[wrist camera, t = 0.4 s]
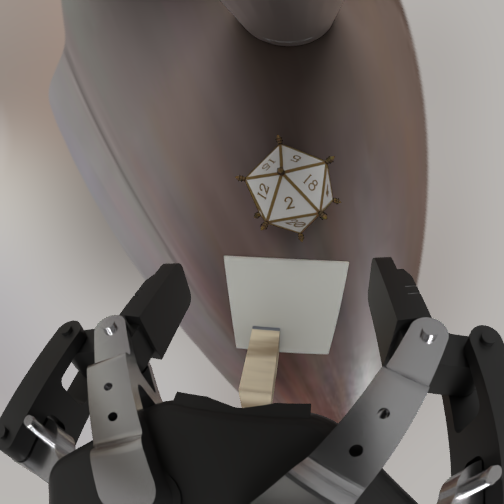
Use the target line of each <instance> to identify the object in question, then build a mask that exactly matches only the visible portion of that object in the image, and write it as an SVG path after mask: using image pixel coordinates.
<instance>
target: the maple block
mask: <svg viewBox="0 0 504 504" xmlns="http://www.w3.org/2000/svg"><path fill="white" fill-rule="evenodd" d="M279 344H280V328H273V327H260V326H253V328H252V332H251V337H250V341H249V346H248V350H247V355H246V359H245V364H244V368H243V372H242V377H241V381H240V386H239V390H238V391H239V396H240V400H241V405H242V408H246V407H254V406H261V405H267V404H272V401H273V394H274V387H275V380H276V373H277V365H278V357H279Z"/></svg>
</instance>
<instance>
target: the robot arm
mask: <svg viewBox="0 0 504 504" xmlns="http://www.w3.org/2000/svg"><path fill="white" fill-rule="evenodd" d="M220 1H221V2H222V3H223V4H224V5H225V6H226V8H227V9H228V10H229V11H230V12H231V13H232V14H233V15H234V16H235V17H236V19H237V20H238V21H239V22H240V23H241V24H242V25H243V26H244V28H245V29H246V30H247V31H248V32H249V33H250V34H252V35H253V36H255V37H256V38H258V39H260V40H262V41H265V42H267V43H270V44H274V45H279V46H298V45H303V44H307V43H310V42H312V41H314V40H316V39H318V38H320V37H321V36H322V35H324V34H325V33H326V32H327V31H328V29H329V28H330V27H331V25H332V23H333V21H334V19H335V17H336V15H337V14H338V12H339V10H340V8H341V5H342V3H343V1H344V0H220ZM368 301H369V307H370V311H371V315H372V319H373V324H374V328H375V332H376V337H377V342H378V347H379V352H380V357H381V362H382V368H381V369H380V370H379V372H378V373H377V374H376V376H375V377H374V379H373V380H372V381H371V383H370V384H369V386H368V387H367V388H366V390H365V391H364V392H363V394H362V395H361V396H360V398H359V399H358V400H357V402H356V403H355V404H354V405H353V407H352V408H351V409H350V410H349V412H348V413H347V414H346V415H345V417H344V418H343V419H342V420H341V421H340V422H339V424H338V423H336V422H335V421H333V420H331V419H329V418H327V417H324V416H321V415H318V414H314V413H310V411H311V404H285V403H273V404H267V405H261V406H254V407H246V408H235V407H232V406H229V405H227V404H224V403H221V402H219V401H216V400H213V399H211V398H208V397H205V396H198V395H192V394H186V393H181V392H177V393H176V396H175V398H174V400H173V401H165V402H162V399H161V397H160V394H159V391H158V388H157V384H156V381H155V378H154V374H153V371H152V367H151V365H150V363H149V360H150V358H156V359H162V358H163V356H164V354H165V352H166V350H167V348H168V346H169V344H170V342H171V340H172V338H173V336H174V334H175V332H176V330H177V328H178V327H179V325H180V323H181V321H182V319H183V317H184V315H185V313H186V311H187V309H188V307H189V305H190V302H191V294H190V290H189V287H188V283H187V280H186V277H185V274H184V271H183V267H182V266H181V264H179V263H176V264H163V265H162V266H161V267H160V268H159V270H158V271H157V272H156V273H155V275H153V276H151V277H150V278H149V279H147V280H146V281H145V282H144V283H143V284H142V286H141V287H140V288H139V290H138V291H137V292H136V293H135V296H133V297H132V299H131V300H130V301H129V303H128V304H127V305H126V307H125V308H124V309H123V311H122V312H121V313H120V315H112V316H109V317H106V318H104V319H103V320H102V321H100V322H99V323H98V324H97V326H96V327H95V329H91V330H83V328H82V326H81V325H80V323H79V322H78V321H70V322H67V323H65V324H64V325H62V326H61V327H60V328H59V329H58V330H57V332H56V333H55V334H54V336H53V337H52V338H51V340H50V341H49V342H48V344H47V345H46V346H45V348H44V349H43V351H42V352H41V353H40V355H39V356H38V358H37V359H36V361H35V362H34V364H33V365H32V367H31V368H30V370H29V371H28V373H27V374H26V376H25V377H24V379H23V380H22V382H21V384H20V385H19V387H18V388H17V390H16V391H15V393H14V395H13V397H12V398H11V400H10V401H9V403H8V405H7V407H6V409H5V410H4V412H3V414H2V416H1V417H0V450H1V451H2V452H4V453H5V454H7V455H8V456H9V457H11V458H12V459H13V460H14V461H15V462H17V463H18V464H20V465H22V466H23V467H24V468H26V469H28V470H29V471H31V472H33V473H34V474H36V475H38V476H39V477H40V478H42V479H43V480H44V481H46V482H47V483H48V484H49V504H418V503H417V502H416V501H415V500H414V499H413V498H411V496H410V495H409V494H407V493H406V492H405V491H404V490H403V489H402V488H401V487H400V486H399V485H398V484H397V483H396V482H395V481H394V480H393V479H392V478H391V477H390V476H389V475H388V474H387V473H386V472H385V471H384V470H383V468H382V467H383V466H384V465H385V463H386V462H387V460H388V459H389V457H390V456H391V455H392V453H393V452H394V450H395V449H396V447H397V446H398V444H399V443H400V441H401V439H402V438H403V436H404V435H405V433H406V431H407V430H408V428H409V426H410V424H411V423H412V421H413V419H414V418H415V416H416V414H417V412H418V410H419V408H420V406H421V405H422V403H423V401H424V398H425V396H426V395H427V393H433V394H441V395H442V399H443V405H444V410H445V416H446V422H447V430H448V439H449V448H450V460H451V477H450V478H449V479H448V480H447V481H446V482H445V483H444V484H443V486H442V488H441V490H440V493H439V498H438V502H437V504H504V343H503V341H502V339H501V337H500V335H499V334H498V332H497V331H495V330H494V329H493V328H491V327H489V326H483V325H481V326H477V327H475V328H474V329H473V330H472V331H471V333H470V335H469V336H460V335H454V334H450V333H448V330H447V328H446V327H445V326H444V324H442V323H441V322H440V321H438V320H436V319H433V318H431V315H430V313H429V311H428V309H427V307H426V304H425V302H424V300H423V298H422V296H421V294H420V293H419V290H418V288H417V287H416V284H415V282H414V280H413V278H412V276H411V275H410V274H409V273H407V272H406V271H405V270H404V269H397V268H396V266H395V264H394V262H393V260H392V258H391V257H384V258H373V259H372V264H371V273H370V282H369V289H368ZM71 362H72V363H73V364H74V366H75V367H76V368H77V369H78V370H79V372H78V373H77V375H76V377H75V378H74V380H73V382H72V383H71V385H70V387H69V389H68V390H67V391H66V390H65V389H64V388H63V386H62V382H61V380H62V376H63V374H64V373H65V371H66V370H67V368H68V367H69V365H70V363H71ZM89 415H90V421H91V428H92V436H93V440H92V441H91V442H89V443H87V444H85V445H83V446H82V447H80V448H78V449H75V445H76V443H77V440H78V438H79V436H80V434H81V431H82V429H83V427H84V425H85V423H86V421H87V419H88V417H89Z"/></svg>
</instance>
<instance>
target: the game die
mask: <svg viewBox="0 0 504 504" xmlns="http://www.w3.org/2000/svg"><path fill="white" fill-rule="evenodd" d="M276 140H277V143H278V146H277V147H276V148H275V149H273V150H272V151H271V152H270V153H269V154H268V155H267V156H266V157H265V158H264V159H263V160H262V161H261V162H260V163H259V164H258V165H257V166H256V167H255V168H254V169H253V170H252V171H251V172H250V173H249V175H248V176H247V177H243V176H240V175H239V176H236V177H235V178H236V179H237V180H238V181H241V182H242V181H245V182H246V185H247V187H248V189H249V191H250V194H251V196H252V198H253V200H254V203H255V205H256V207H257V209H258V212H256V213H255V216H254V218H259V217H260V216H262V218H263V219H264V221H265V222H263V223H262V224H261V230H264V229H267V227H268V224H270V225H274V226H277V227H280V228H283V229H286V230H290V231H293V232H296V233H298V234H299V235H298V237H299V238H298V239H299V240H300V241H301V242H302V241H303V239H304V237H303V236H304V235H303V234H302V232H303V231H304V230H305V229H306V228H307V227H308V226H309V225H310V224H311V223H312V222H313V221H314V220H315V219H316V218H317V217H318V216H320V218H322V220H323V219H327V214H325V213H324V212H323V211H324V210H325V209H326V208H327V207H328V206H329V205H330V204H331V203H332V202H334V203H336V204H338V203H341V202H340V200H339V198H338V199H337V198H333V194H332V188H331V182H330V176H329V170H328V164H329V163H331V162H333V160H334V157H335V156H332V157H330V156H329V158H327V159H326V161H324V160H322V159H319V158H317V157H315V156H312V155H310V154H307V153H305V152H302V151H300V150H297V149H294V148H292V147H289V146H286V145H284V144H282V141H283V140H282V138H281V137H280V136H279V135H277V138H276Z"/></svg>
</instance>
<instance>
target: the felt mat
mask: <svg viewBox="0 0 504 504" xmlns="http://www.w3.org/2000/svg"><path fill="white" fill-rule="evenodd" d="M224 263H225V270H226V278H227V285H228V293H229V300H230V307H231V314H232V321H233V328H234V335H235V341H236V348H242V349H248V346H249V341H250V337H251V332H252V328H253V326H260V327H273V328H280V344H279V352H288V353H307V354H328V353H329V350H330V346H331V342H332V338H333V335H334V331H335V327H336V322H337V318H338V314H339V310H340V305H341V301H342V296H343V291H344V286H345V281H346V276H347V271H348V266H349V262H348V261H326V260H305V259H284V258H264V257H244V256H224Z"/></svg>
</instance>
